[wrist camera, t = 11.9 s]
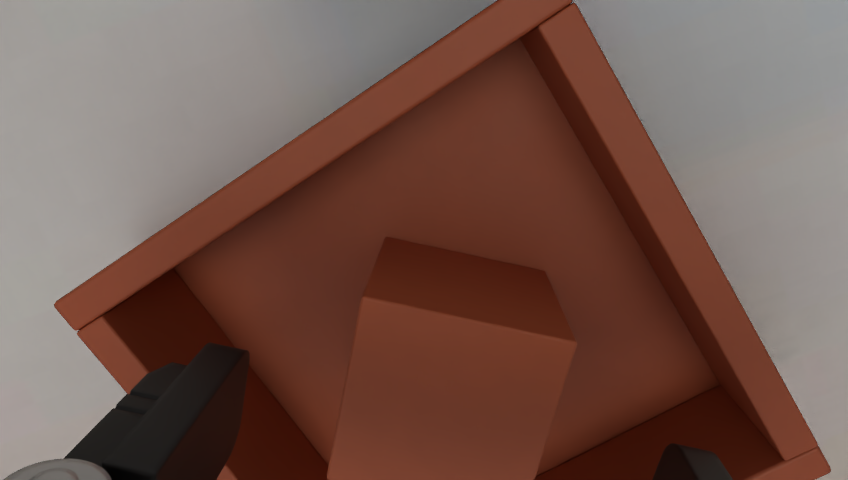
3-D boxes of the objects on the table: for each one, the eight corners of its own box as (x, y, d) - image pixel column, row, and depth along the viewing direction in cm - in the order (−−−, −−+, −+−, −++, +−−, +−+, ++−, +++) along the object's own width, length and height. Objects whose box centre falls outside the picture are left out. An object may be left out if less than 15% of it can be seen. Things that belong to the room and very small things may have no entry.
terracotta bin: (140, 251, 17) (50, 305, 13) (527, -11, 15) (553, -39, 11) (387, 562, 20) (372, 683, 16) (749, 382, 17) (834, 473, 13)
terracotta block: (356, 379, 17) (325, 480, 13) (385, 235, 16) (361, 295, 12) (506, 411, 17) (522, 521, 13) (545, 270, 16) (578, 342, 12)
